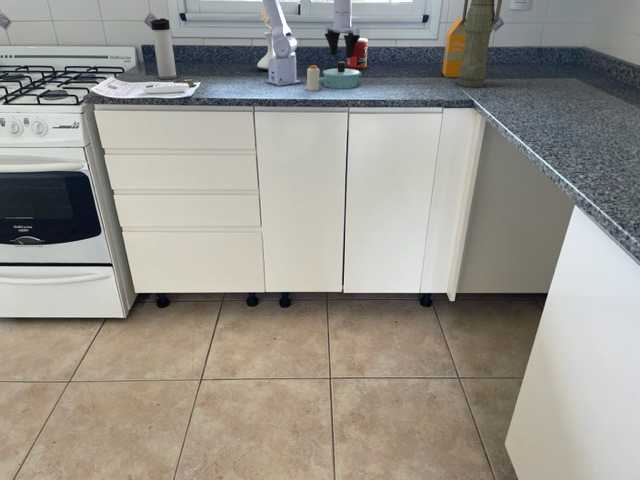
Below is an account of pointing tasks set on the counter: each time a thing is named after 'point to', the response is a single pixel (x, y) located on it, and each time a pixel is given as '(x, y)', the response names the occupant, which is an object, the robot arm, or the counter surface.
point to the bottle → (313, 78)
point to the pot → (340, 81)
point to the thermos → (477, 41)
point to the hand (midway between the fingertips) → (341, 56)
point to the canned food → (359, 55)
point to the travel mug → (163, 48)
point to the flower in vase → (270, 54)
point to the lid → (341, 71)
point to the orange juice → (454, 49)
